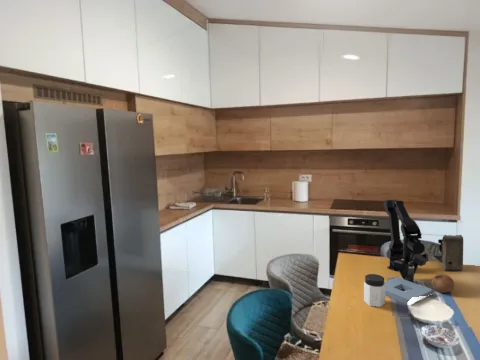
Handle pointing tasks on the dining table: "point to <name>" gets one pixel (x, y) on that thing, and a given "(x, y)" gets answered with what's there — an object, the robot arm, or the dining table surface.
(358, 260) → the dining table surface
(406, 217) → the robot arm
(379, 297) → the jar
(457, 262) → the vintage camera
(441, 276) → the onion
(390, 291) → the mount block
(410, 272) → the lens
